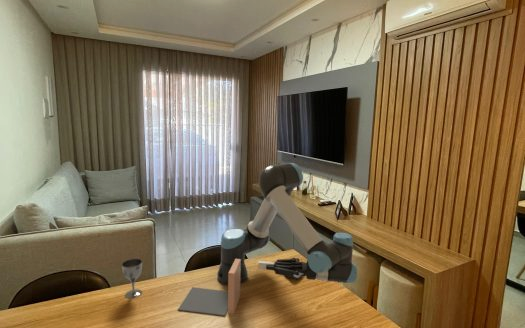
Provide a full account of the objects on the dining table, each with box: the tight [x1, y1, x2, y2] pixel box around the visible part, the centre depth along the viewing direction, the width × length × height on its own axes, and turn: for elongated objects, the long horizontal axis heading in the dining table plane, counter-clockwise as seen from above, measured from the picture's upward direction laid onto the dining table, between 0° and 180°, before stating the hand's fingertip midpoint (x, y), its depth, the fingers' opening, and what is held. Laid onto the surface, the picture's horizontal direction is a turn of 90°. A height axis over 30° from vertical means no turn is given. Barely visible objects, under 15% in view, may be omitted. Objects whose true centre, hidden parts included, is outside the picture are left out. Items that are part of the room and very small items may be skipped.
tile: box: [227, 259, 241, 315], centre depth 125 cm, size 12×3×18 cm, turn 172°
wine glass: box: [121, 258, 143, 300], centre depth 130 cm, size 8×8×15 cm
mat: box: [177, 286, 228, 317], centre depth 128 cm, size 16×20×1 cm
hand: (258, 264), depth 121 cm, fingers closed
